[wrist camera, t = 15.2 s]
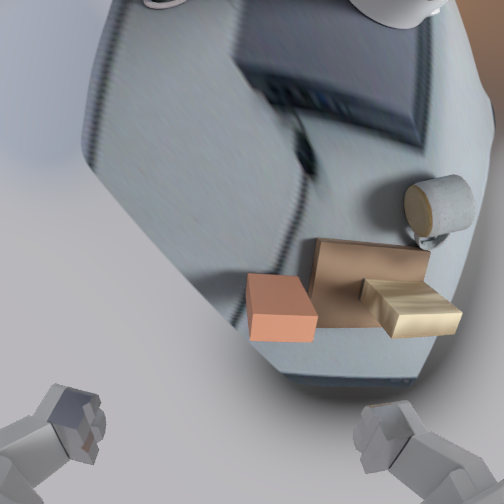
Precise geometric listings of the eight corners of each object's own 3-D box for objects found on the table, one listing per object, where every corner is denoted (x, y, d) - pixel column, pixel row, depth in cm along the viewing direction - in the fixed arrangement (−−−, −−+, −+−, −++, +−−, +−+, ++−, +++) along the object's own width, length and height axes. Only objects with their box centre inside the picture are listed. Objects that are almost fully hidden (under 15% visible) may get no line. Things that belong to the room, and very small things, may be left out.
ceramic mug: (396, 181, 38) (428, 189, 30) (441, 171, 37) (475, 178, 30) (405, 253, 41) (433, 273, 34) (447, 239, 41) (477, 255, 34)
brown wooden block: (316, 237, 39) (349, 272, 28) (423, 247, 41) (473, 278, 29) (302, 320, 43) (324, 373, 31) (403, 320, 44) (442, 363, 33)
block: (247, 273, 38) (253, 313, 28) (297, 276, 38) (318, 316, 29) (245, 295, 39) (250, 340, 29) (294, 298, 39) (312, 342, 30)
